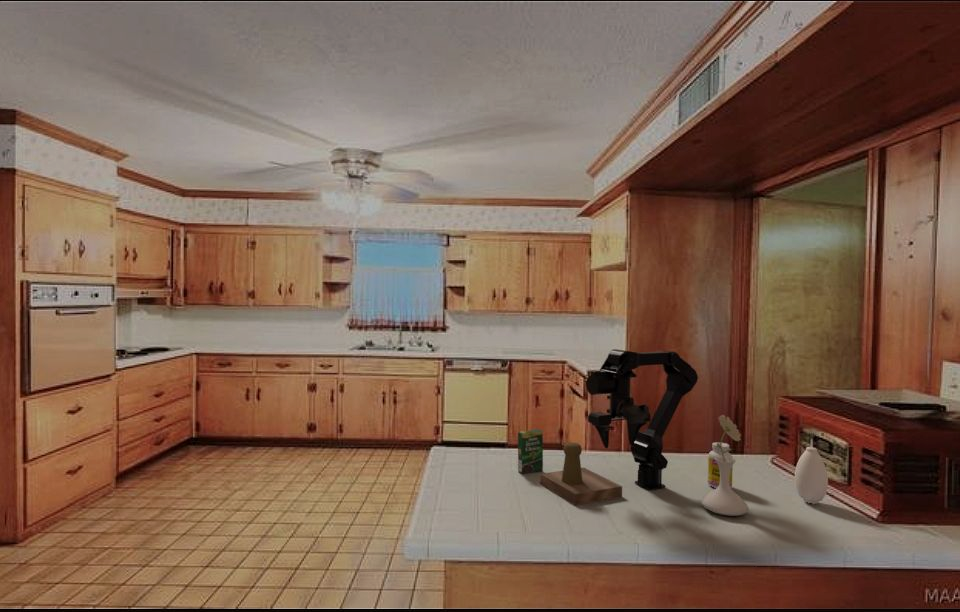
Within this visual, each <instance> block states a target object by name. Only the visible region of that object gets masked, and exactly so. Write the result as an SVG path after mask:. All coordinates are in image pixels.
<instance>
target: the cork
mask: <svg viewBox="0 0 960 612" xmlns="http://www.w3.org/2000/svg"><path fill="white" fill-rule="evenodd" d="M582 449H583V448H582V446H581V444H580V443H577V442H572V441H571V442H566V443H564V445H563V453H564V461H563V468H562V469H563V470H562V471H563V474H562V482H563V483H565V484H570V485H579V484H582V483H583V481H582V473H581V468H582V464H581V457H580V455H581V454H582Z"/></svg>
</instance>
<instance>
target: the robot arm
mask: <svg viewBox="0 0 960 612" xmlns="http://www.w3.org/2000/svg"><path fill="white" fill-rule="evenodd" d="M656 365H657V366H659V365H662V368H663V371H664V373H665V374H666V375H667V376H666V378H665V382H666V383H665V384H666V390H665V392H664V393H663V396H662V397H661V400H660V402H659V404H658V406H657V408H656V410H655V412H654V413H653V416H652V418H651V413H650V409H649V408H650V406H649V405H647V404H640V405H637V404H635V399H634V397H632V396H631V384H632V383H631V379H633V378H637V377H638V375H637V374H636V373H635V372H634V371H633V370H636V369H638V368H639V367H642V366H656ZM698 380H699V377H698V373H697V371H696V370H695V369H694V368H693V367H692V365H690V364H689V363H688V362H687V361H686V360H684V358H681V356H680V354H679V353H677V352H676V351H671V350H661V351H660V350H659V351H641V352H640V351H639V352H638V351H637V352H635V351H631V350H622V349H618V348H617V349H615V348H613V349H611V350H609V353H608V354H607V357H606V359H605V361H603V364H602V365H601V367H600V369H599V370H591V371H590V374H589V375H588V376H587V378H586V381H585V388H586V391H587V392H588V394H589V395H592V396H595V395H596V396H597V395H599V396H600V395H606V398H607V400H609V408H607V409H606V413H605V412H602V411H593V412H589V414H588V415H587V422H588V423H590V424H591V425H592V426H593V427H594V428H595V429H596V431H597V434H598V435H599V437H600V440H601V442H602V444H603V447H604V448H605V449H609V445H610V444H609V442H610V430H611V429H612V427H613V426H612V425H611V424H612V422H615V421H626V427H627V437H628V441H629V445H630V451H631V455H632V456H633V461H634V462H635V463H638V470H637V480H635V481H634V484H636V485H637V486H640V487H642V488H645V489H647V490H649V491H651V490H656V489H657V490H658V489H662V487H663V488H666V484H663V483H662V479H663V478H662V477H663V476H662V473H663V470H664V469H667V468H668V463H669V460H668V459H667V458H666V457H665V456H664V455H663V454H662V452H663V450H664V444H663V437H664V435H665V432H666V430H667V428H668V427H669V425H670V422H671V421H672V419H673V417H674V416H675V413H676V410H677V408H678V406H679V404H680V402H681V401H682V398H683V397H684V396H686V394H688V393H690V392H691V391H692V390H693V389H694V387H695V386H696V384H697V382H698ZM648 422H649V423H648ZM647 424H648V426H647V428H646V429H645V430H643V431H640V429H641V428H642V427H643V426H645V425H647Z"/></svg>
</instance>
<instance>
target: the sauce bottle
mask: <svg viewBox="0 0 960 612" xmlns="http://www.w3.org/2000/svg"><path fill="white" fill-rule="evenodd" d="M813 443H814V441H813V438H811V439H810V446H807V447H805V451H804V452H803V453H802V454H801V455H800V457H799V460H798V461H797V464H796V466H795V470H794V472H795V473H794V485H795V489H796V491H797V494H798V495H799V496H798V497H800V498H801V499H803V501H804V502H806V503H807V502H808V503H807V504H809V503H814V504H813V505H816V504H819V502H822V501H823V500H824V498H825V496H826V495H827V492H828V488H829V478H828V477H829V476H828V472H827V469H826V465H825V462H824V460H823V458H822V457H821V455H820V454H819V452H818V449H817V448H816V447H813V445H814V444H813Z"/></svg>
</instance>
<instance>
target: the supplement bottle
mask: <svg viewBox="0 0 960 612" xmlns="http://www.w3.org/2000/svg"><path fill="white" fill-rule="evenodd" d="M717 442H718V441H716V442H712V450H710V452H709V453H708V462H707V463H708V464H707V485H708V486H709V485H710V486H712V487H714V488H713V489H715V488H717V487H718V486H719V484H720V470H719V465H718V463H717V461H716V460H715V457H723V456H722V452H721V449H720V448H719V447H717V446H716V445H717ZM718 443H719V444H720V442H718ZM721 445H722V451H723V452H725V451H728V450H730V449H731V448H730V445H729V443H726V442H725V443H724V442H722V444H721ZM723 454H724V457H728V458H732V459H734V458H733V455H732V454H731V453H730V451H728V452H726V453H723ZM733 465H734V464H733ZM733 465H732V467H731V470H730V477H729V484H730V487H731V489H732V488H733V471H734V470H733V467H734V466H733ZM710 486H709V487H710ZM712 487H711V488H712Z"/></svg>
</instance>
